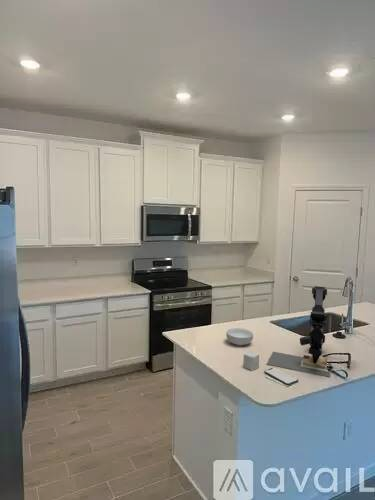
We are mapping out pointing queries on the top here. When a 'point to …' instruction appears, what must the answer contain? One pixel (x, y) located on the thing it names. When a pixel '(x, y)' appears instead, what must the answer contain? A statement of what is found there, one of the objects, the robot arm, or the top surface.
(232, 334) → the cereal bowl
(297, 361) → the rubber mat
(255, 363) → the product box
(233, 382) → the top surface
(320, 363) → the two-tone wooden plank
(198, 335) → the top surface
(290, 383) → the smartphone
